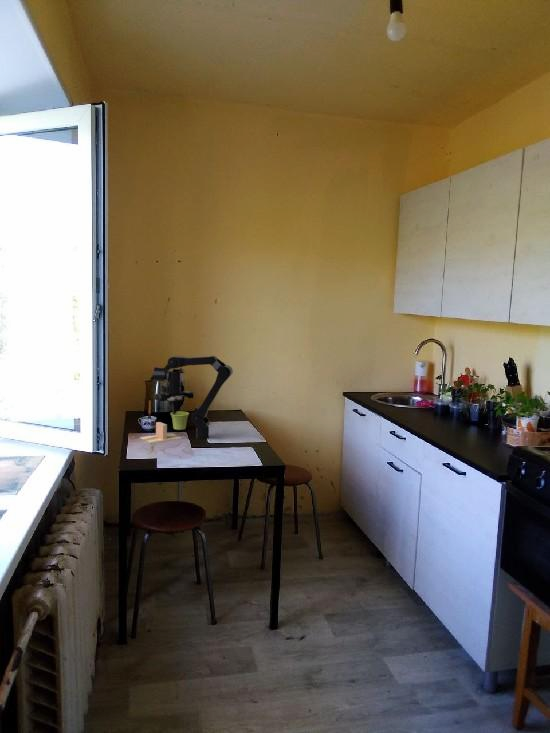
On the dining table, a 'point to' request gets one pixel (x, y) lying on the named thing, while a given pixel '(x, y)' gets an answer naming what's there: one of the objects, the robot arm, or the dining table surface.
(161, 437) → the tile
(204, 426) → the robot arm
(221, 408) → the dining table surface
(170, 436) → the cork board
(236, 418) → the dining table surface
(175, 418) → the plant pot
